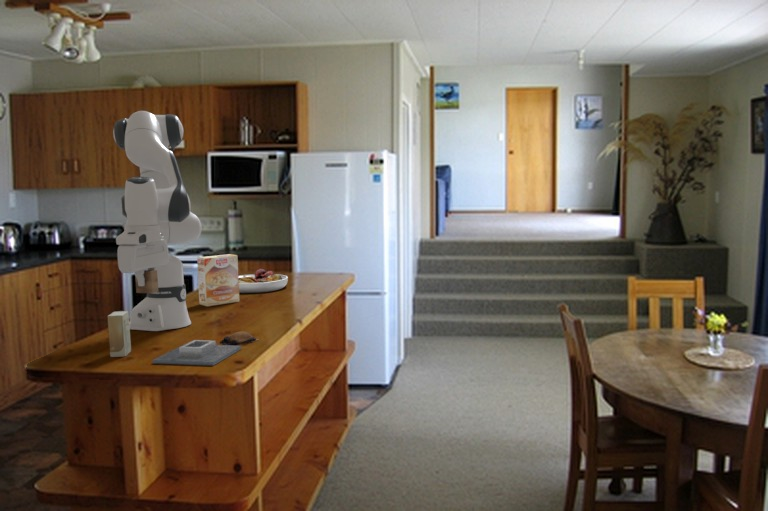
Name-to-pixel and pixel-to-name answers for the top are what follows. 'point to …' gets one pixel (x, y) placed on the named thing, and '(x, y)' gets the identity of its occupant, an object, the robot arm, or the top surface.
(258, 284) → the bowl
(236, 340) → the bread roll
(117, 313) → the skincare box
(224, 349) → the metal duct collar
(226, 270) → the coffeecake box
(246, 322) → the top surface
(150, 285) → the walnut peg
